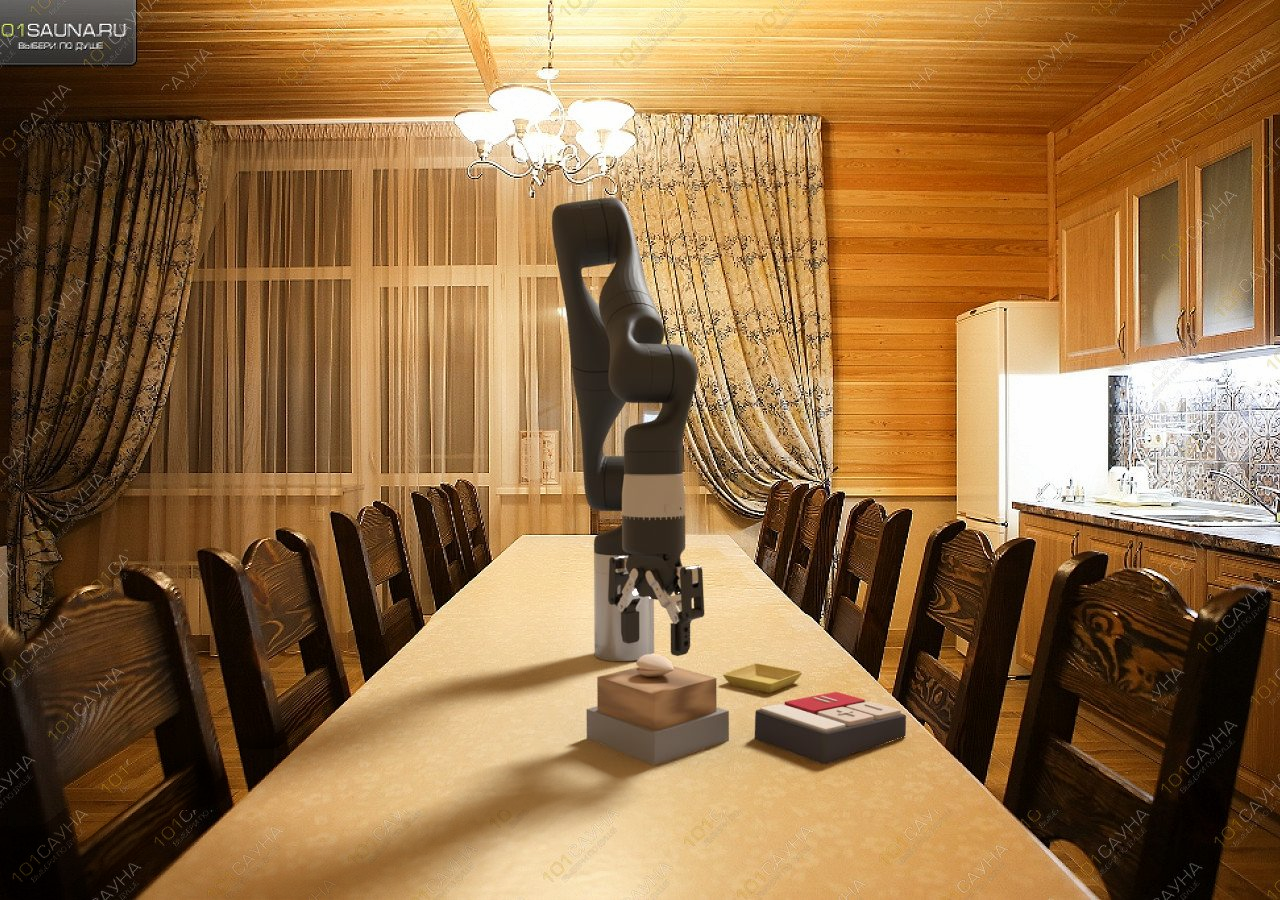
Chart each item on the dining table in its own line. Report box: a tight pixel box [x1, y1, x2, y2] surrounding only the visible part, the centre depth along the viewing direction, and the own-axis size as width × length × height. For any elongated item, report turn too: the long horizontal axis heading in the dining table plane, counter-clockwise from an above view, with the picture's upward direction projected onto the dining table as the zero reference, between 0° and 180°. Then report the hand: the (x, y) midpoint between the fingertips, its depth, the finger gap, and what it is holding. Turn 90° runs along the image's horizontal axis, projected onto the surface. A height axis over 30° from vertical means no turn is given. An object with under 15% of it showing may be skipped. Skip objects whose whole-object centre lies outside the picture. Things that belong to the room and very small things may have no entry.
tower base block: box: [586, 705, 730, 767], centre depth 103 cm, size 12×12×4 cm
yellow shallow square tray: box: [722, 663, 803, 694], centre depth 126 cm, size 9×9×2 cm
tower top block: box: [596, 666, 718, 731], centre depth 102 cm, size 10×10×4 cm
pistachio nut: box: [635, 653, 674, 677], centre depth 103 cm, size 4×5×2 cm
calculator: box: [754, 691, 907, 765], centre depth 103 cm, size 11×4×15 cm
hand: (654, 648), depth 103 cm, fingers open, 8 cm apart
